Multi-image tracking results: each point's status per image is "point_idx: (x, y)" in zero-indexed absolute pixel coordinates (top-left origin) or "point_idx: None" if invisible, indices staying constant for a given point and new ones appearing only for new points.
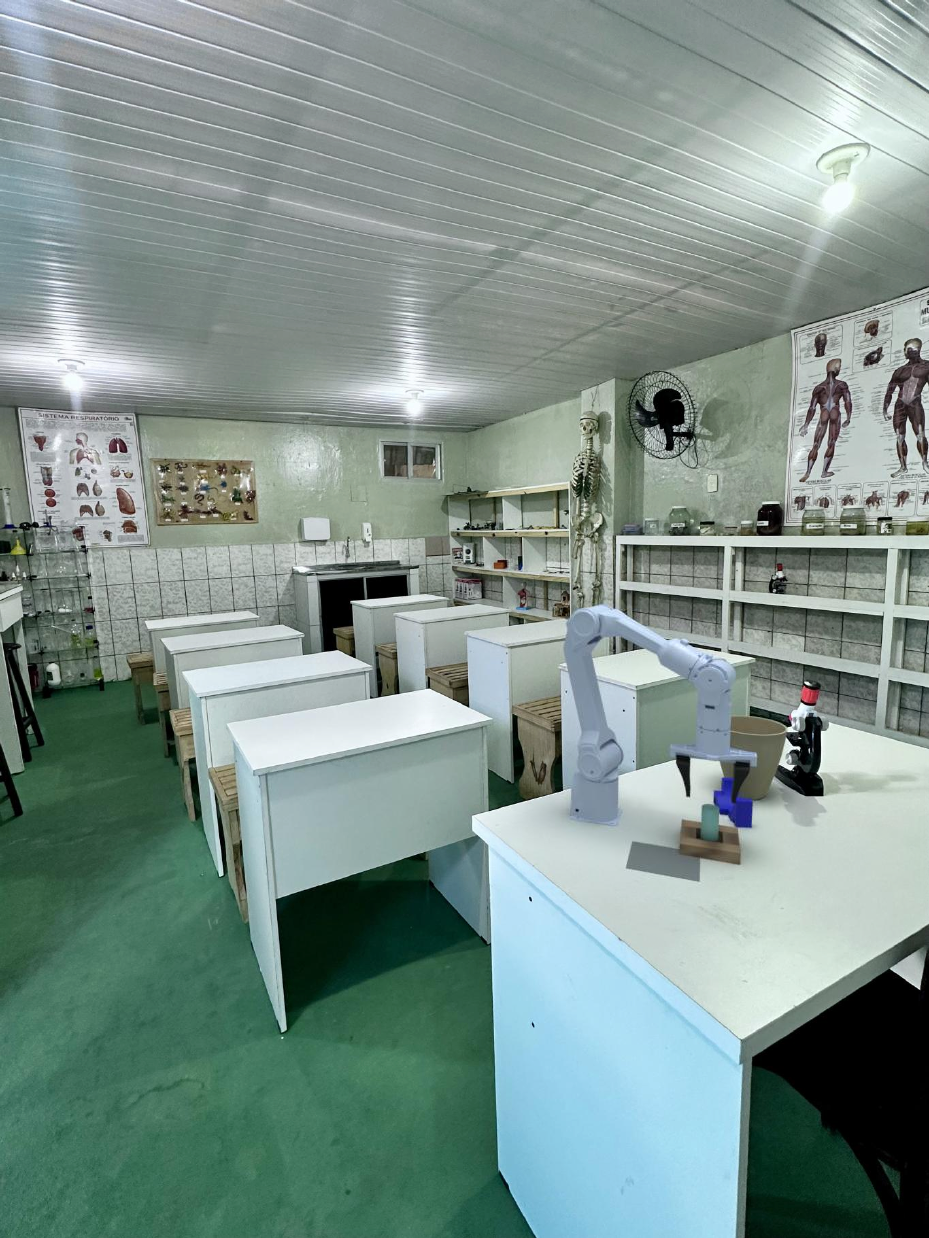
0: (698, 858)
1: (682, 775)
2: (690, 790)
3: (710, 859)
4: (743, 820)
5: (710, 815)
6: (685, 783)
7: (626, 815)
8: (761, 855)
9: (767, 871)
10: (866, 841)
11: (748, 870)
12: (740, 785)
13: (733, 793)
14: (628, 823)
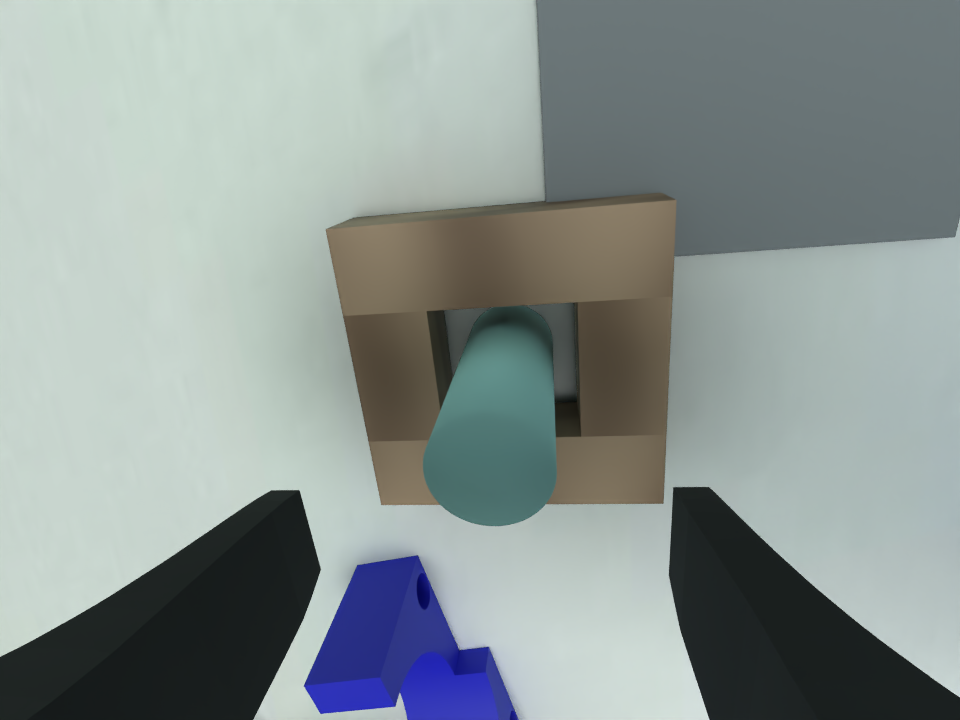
0: (554, 188)
1: (948, 699)
2: (677, 588)
3: (492, 206)
4: (376, 592)
5: (485, 393)
6: (799, 588)
7: (944, 533)
8: (286, 368)
9: (237, 228)
10: (9, 594)
11: (313, 197)
12: (67, 625)
13: (227, 546)
14: (942, 455)
